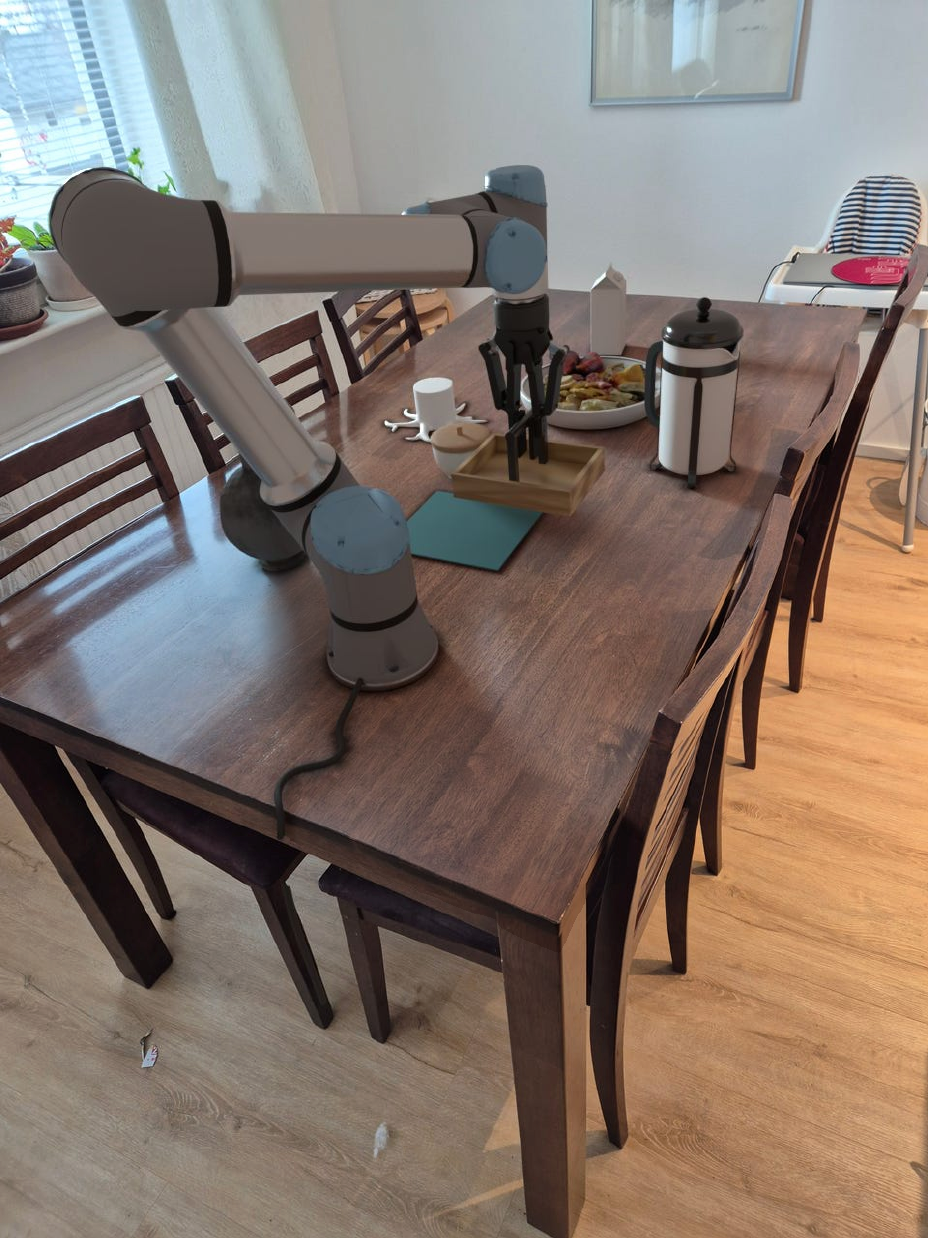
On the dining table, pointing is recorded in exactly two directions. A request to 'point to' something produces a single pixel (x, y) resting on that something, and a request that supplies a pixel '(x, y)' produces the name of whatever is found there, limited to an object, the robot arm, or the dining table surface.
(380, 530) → the robot arm
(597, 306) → the milk carton
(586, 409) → the bowl
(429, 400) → the tree stump
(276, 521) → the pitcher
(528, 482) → the tray
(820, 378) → the dining table surface
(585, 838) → the dining table surface
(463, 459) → the white jar with lid
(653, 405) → the coffee press
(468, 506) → the mat
